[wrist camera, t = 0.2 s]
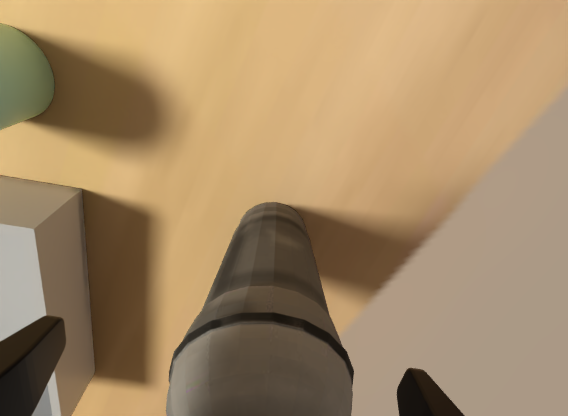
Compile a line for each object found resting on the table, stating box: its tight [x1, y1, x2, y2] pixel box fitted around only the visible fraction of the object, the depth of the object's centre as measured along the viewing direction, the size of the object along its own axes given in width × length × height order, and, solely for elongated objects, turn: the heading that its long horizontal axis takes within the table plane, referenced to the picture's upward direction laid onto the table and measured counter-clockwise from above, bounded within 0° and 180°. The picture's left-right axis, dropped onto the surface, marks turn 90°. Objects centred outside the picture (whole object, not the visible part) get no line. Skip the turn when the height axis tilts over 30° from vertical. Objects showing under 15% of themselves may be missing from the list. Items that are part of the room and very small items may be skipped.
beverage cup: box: [166, 203, 354, 416], centre depth 16 cm, size 7×7×20 cm
